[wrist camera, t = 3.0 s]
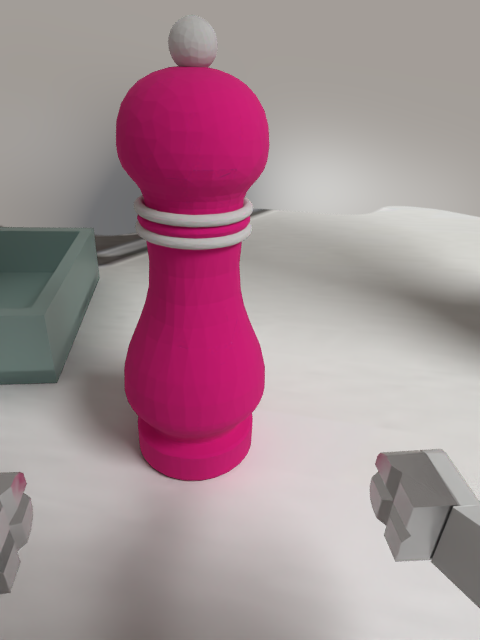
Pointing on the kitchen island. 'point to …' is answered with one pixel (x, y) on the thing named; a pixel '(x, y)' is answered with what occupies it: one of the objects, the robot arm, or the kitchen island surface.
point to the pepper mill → (193, 257)
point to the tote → (42, 298)
